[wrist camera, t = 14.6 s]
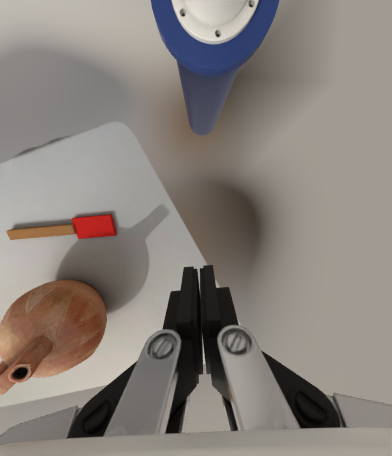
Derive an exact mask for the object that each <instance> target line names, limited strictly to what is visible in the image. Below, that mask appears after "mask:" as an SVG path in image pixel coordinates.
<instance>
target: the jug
mask: <svg viewBox="0 0 392 456" xmlns="http://www.w3.org/2000/svg"><path fill="white" fill-rule="evenodd" d="M106 322H107V316H106V308H105V305H104V302H103V300H102V297H101V295H100V294H99V292H98V291H97V290H96V289H95V288H94V287H92V286H91V285H89V284H87V283H84V282H81V281H77V280H60V281H54V282H49V283H45V284H43V285H41V286H39V287H37V288H34V289H32V290H30V291H29V292H27V293H25V294H24V295H22V296H21V297H20V298H18V299H17V300H16V301H15V302H14V303H13V304H12V305H11V306H10V308H9V309H8V311H7V312H6V314H5V316H4V317H3V320H2V322H1V324H0V356H1V358H2V362H1V364H0V395H3V394H4V393H5V392H7V391H8V390H9V389H10V388H11V387H12V386H13V385H14V384H15V383H21V382H24V381H26V380H28V379H29V378H30V377H37V378H38V377H49V376H53V375H56V374H59V373H62V372H64V371H67V370H69V369H71V368H73V367H74V366H76V365H78V364H79V363H81V362H83V361H84V360H86V359H87V358H89V357H90V356H91V355H92V354H93V353H94V351H95V350H96V348H97V347H98V345H99V344H100V342H101V340H102V338H103V335H104V332H105V327H106Z"/></svg>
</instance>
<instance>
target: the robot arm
mask: <svg viewBox="0 0 392 456" xmlns="http://www.w3.org/2000/svg"><path fill="white" fill-rule="evenodd" d="M171 1H172V5H173V9H174V11H175V14H176V16H177V19H178V20H179V22H180V24H181V25H182V27H183V28H184V29H185V30H186V32H187V33H188V34H189V35H190V36H192V37H193V38H195V39H196V40H198V41H200V42H202V43H206V44H221V43H225V42H228V41H230V40H231V39H233V38H235V37H236V36H237V35H238V34H239V33H241V32H242V31H243V30H244V28H245V27H246V26H247V25H248V23H249V21H250V20H251V18H252V16H253V14H254V12H255V9H256V7H257V4H258V1H259V0H171ZM182 16H184V17H182ZM216 36H219V37H216ZM203 267H204V268H201V269H200V290H199V281H198V272H197V269H194V267H184V270H183V277H182V284H181V291H171V293H170V297H169V302H168V307H167V311H166V316H165V320H164V325H163V329H162V330H160V331H157V332H156V333H154V334H153V335H152V336H151V337H149V338H148V340H147V342H146V343H145V345H144V348H143V350H142V352H141V354H140V356H139V359H138V361H137V362H135V363H134V364H133V365H132V366H131V367H129V368H128V369H127V370H126V371H124V372H123V373H122V374H121V375H120V376H118V377H117V378H116V379H115V380H114V381H112V382H111V383H110V384H109V385H107V386H106V387H105V388H104V389H103V390H101V391H100V392H99V393H98V394H97V395H95V396H94V397H93V398H92V399H91V400H90V401H89V402H88V403H86V404H85V406H84V407H82V408H78V406H74V407H71V408H68V409H65V410H61V411H58V412H56V413H52V414H49V415H46V416H43V417H40V418H37V419H33V420H30V421H27V422H24V423H20V424H18V425H16V426H14V427H12V428H9V429H8V430H7V431H5V432H4V433H3V434H1V435H0V456H392V405H390V404H385V403H380V402H375V401H371V400H365V399H360V398H355V397H351V396H346V395H340V394H336V393H334V394H333V396H329V395H325V394H324V393H323V392H321V391H320V390H319V389H318V388H316V387H315V386H313V385H312V384H311V383H309V382H308V381H306V380H305V379H303V378H302V377H300V376H299V375H297V374H296V373H294V372H293V371H291V370H290V369H288V368H287V367H285V366H284V365H282V364H281V363H279V362H278V361H276V360H275V359H273V358H272V357H270V356H269V355H267V354H266V353H264V352H263V351H261V349H260V347H259V345H258V344H257V342H256V340H255V338H254V336H253V335H252V333H251V332H250V331H249V330H248V329H246V328H245V327H242V326H239V324H238V320H237V316H236V313H235V309H234V305H233V301H232V297H231V293H230V289H229V287H223V288H216V284H215V277H214V271H213V265H207V266H203ZM200 297H201V300H200ZM202 335H203V344H204V353H205V362H206V371H207V374H211V377H212V385H213V386H214V387H215V388H216V389H217V390H218V391H219V392H220V394H221V395H222V401H223V406H224V410H225V414H226V419H227V423H228V427H229V431H224V432H199V433H185V427H186V421H187V415H188V408H189V402H190V393H191V392H192V391H193V390H194V388H195V387H196V386H197V384H198V383H199V374H203V348H202Z"/></svg>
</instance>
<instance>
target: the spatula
mask: <svg viewBox="0 0 392 456" xmlns="http://www.w3.org/2000/svg"><path fill="white" fill-rule="evenodd" d="M72 222H73V224H63V225H52V226H41V227H30V228H19V229H11V230H8V231H7V234H8V236H9V238H10V240H14V239H25V238H37V237H48V236H59V235H70V234H77V237H78V239H81V238H93V237H104V236H115V235H116V230H115V226H114V222H113V218H112V214H110V215H99V216H88V217H77V218H72Z"/></svg>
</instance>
